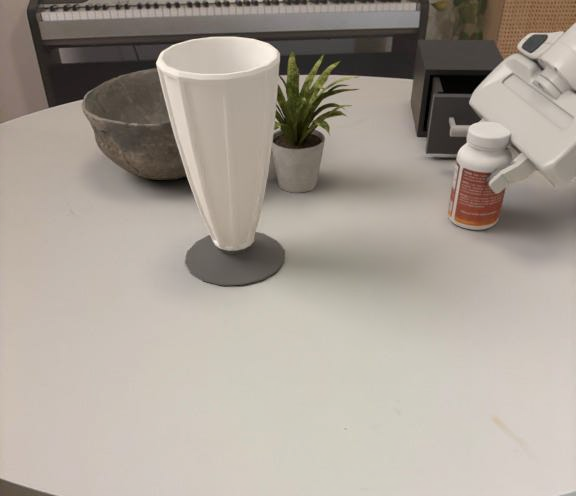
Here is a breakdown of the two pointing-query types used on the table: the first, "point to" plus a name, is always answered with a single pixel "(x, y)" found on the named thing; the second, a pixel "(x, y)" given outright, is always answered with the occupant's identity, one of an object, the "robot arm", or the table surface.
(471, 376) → the table surface
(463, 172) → the pill bottle
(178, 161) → the bowl
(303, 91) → the house plant
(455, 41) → the cabinet
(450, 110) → the drawer
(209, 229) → the cup
